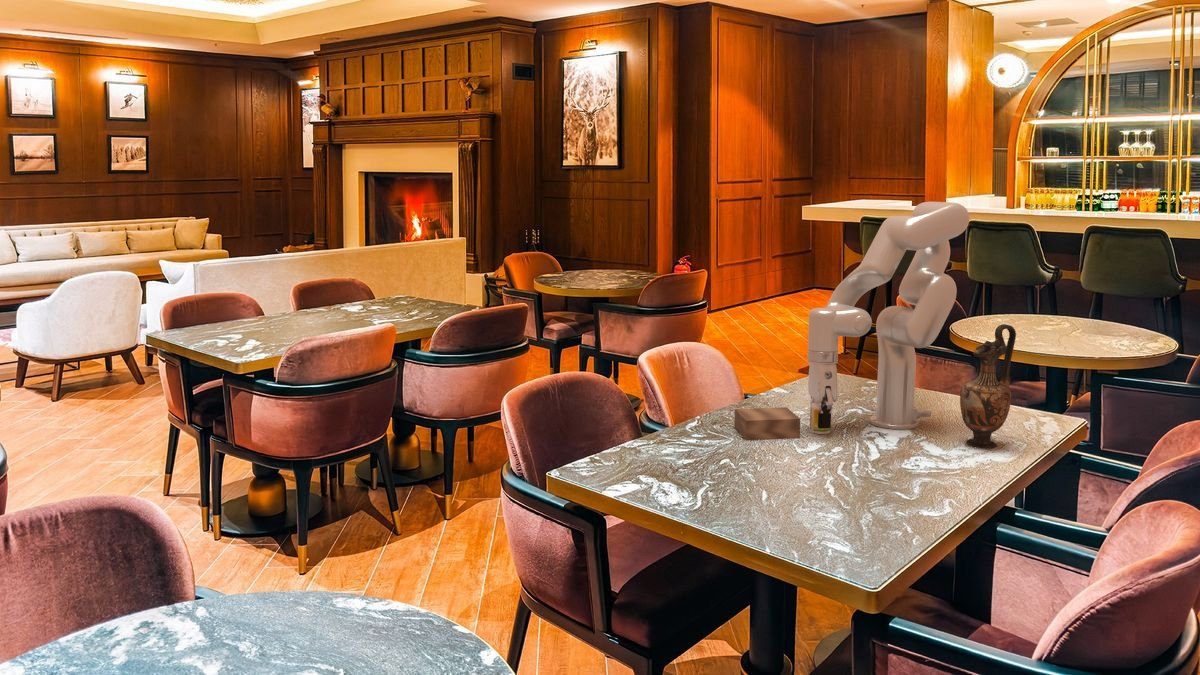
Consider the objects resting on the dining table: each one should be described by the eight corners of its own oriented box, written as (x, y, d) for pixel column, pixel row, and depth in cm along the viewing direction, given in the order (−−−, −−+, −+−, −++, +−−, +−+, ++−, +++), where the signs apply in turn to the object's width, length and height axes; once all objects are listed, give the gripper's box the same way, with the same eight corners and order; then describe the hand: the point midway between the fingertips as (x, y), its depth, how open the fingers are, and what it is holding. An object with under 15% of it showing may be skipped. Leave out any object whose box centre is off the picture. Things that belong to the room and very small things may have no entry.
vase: (948, 439, 240) (955, 321, 234) (996, 437, 241) (1003, 320, 235) (970, 452, 228) (978, 329, 223) (1020, 450, 229) (1029, 328, 224)
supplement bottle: (805, 430, 248) (806, 394, 247) (821, 428, 251) (822, 392, 249) (818, 435, 244) (819, 399, 242) (835, 432, 246) (836, 396, 244)
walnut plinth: (786, 425, 253) (786, 407, 252) (799, 437, 242) (800, 418, 241) (734, 427, 252) (734, 409, 251) (745, 439, 240) (746, 420, 239)
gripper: (848, 362, 236) (846, 433, 239) (825, 349, 252) (823, 416, 256) (819, 363, 235) (816, 434, 238) (798, 350, 252) (796, 417, 255)
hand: (820, 424), depth 247 cm, fingers closed on supplement bottle, 5 cm apart
